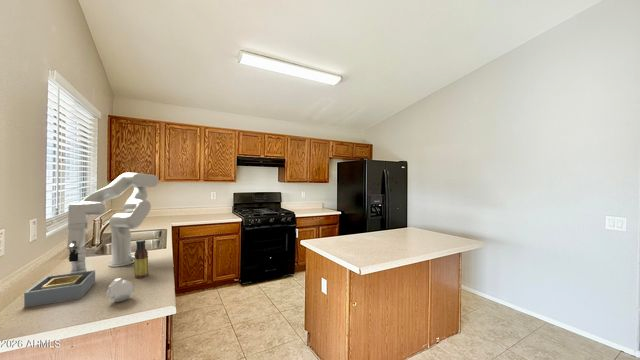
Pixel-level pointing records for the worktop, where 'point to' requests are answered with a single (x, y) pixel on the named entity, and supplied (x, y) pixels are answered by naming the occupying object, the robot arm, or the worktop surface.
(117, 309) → the worktop surface
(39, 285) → the walled box
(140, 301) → the worktop surface
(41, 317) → the worktop surface
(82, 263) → the plastic bottle
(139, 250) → the sauce bottle
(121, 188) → the robot arm
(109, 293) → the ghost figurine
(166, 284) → the worktop surface
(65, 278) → the olive square tray
